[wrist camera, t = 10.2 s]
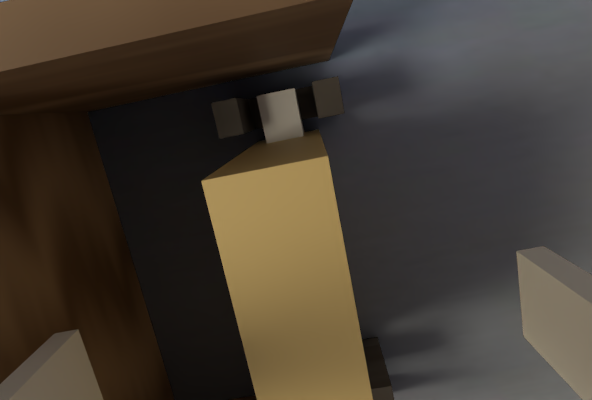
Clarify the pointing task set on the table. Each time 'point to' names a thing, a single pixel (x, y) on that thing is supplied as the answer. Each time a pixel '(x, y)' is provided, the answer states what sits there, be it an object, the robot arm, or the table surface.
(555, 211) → the table surface
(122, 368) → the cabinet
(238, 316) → the yellow rectangular block
